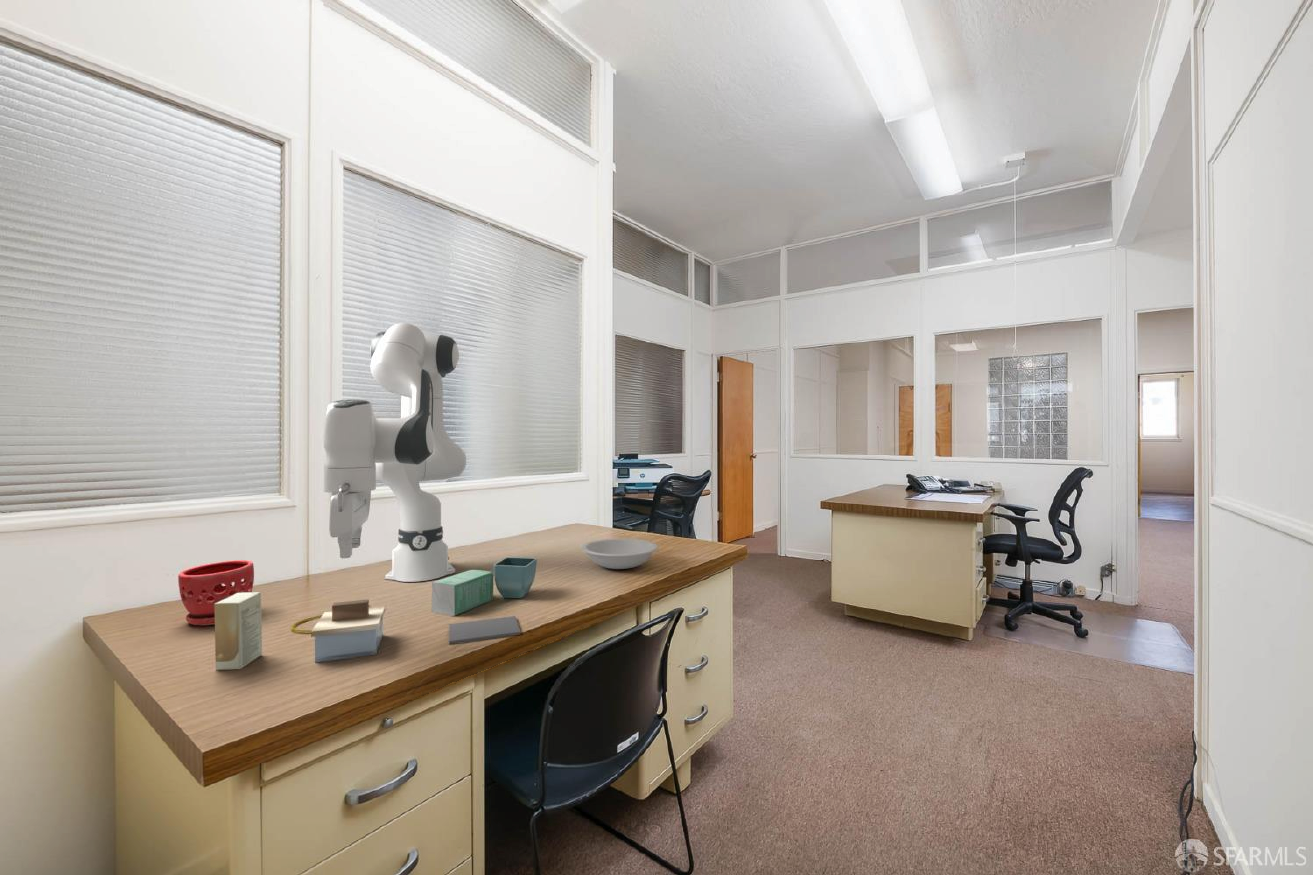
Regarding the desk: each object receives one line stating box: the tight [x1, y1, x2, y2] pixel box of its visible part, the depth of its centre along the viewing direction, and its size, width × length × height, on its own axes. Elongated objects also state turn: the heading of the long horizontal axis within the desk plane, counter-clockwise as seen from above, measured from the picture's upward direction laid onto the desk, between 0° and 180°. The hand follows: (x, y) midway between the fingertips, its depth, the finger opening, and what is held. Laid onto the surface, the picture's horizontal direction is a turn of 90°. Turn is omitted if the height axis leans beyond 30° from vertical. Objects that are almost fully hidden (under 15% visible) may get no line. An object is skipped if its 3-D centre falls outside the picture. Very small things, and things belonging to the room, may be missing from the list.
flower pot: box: [493, 556, 538, 599], centre depth 135 cm, size 9×9×9 cm
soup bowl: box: [581, 537, 659, 570], centre depth 165 cm, size 24×24×7 cm
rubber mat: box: [448, 615, 522, 645], centre depth 112 cm, size 10×14×1 cm
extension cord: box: [290, 604, 372, 635], centre depth 116 cm, size 12×16×2 cm
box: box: [431, 569, 494, 617], centre depth 128 cm, size 7×14×8 cm, turn 157°
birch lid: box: [310, 598, 386, 638], centre depth 102 cm, size 11×11×4 cm
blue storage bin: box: [314, 617, 384, 663], centre depth 103 cm, size 10×10×5 cm
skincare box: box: [214, 591, 263, 671], centre depth 96 cm, size 6×4×12 cm
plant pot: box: [177, 559, 255, 626], centre depth 118 cm, size 13×13×12 cm
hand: (350, 552), depth 102 cm, fingers open, 8 cm apart
